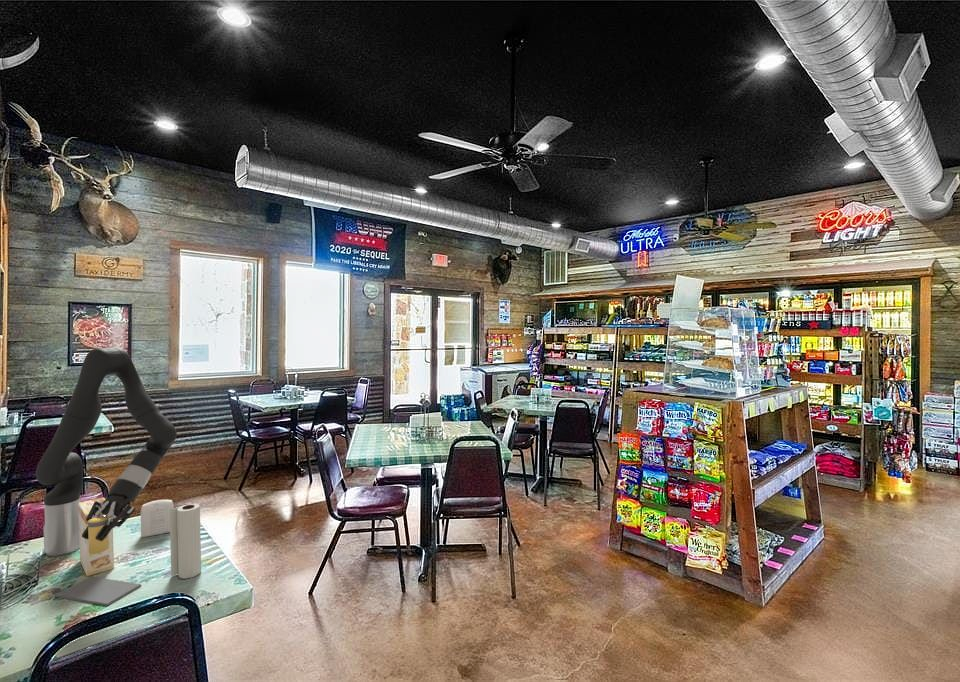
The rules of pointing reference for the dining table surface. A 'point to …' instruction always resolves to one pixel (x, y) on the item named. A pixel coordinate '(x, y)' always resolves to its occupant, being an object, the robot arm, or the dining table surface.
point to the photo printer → (156, 517)
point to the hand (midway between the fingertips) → (91, 538)
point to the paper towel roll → (185, 540)
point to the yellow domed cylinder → (93, 530)
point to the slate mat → (98, 590)
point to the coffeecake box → (88, 560)
